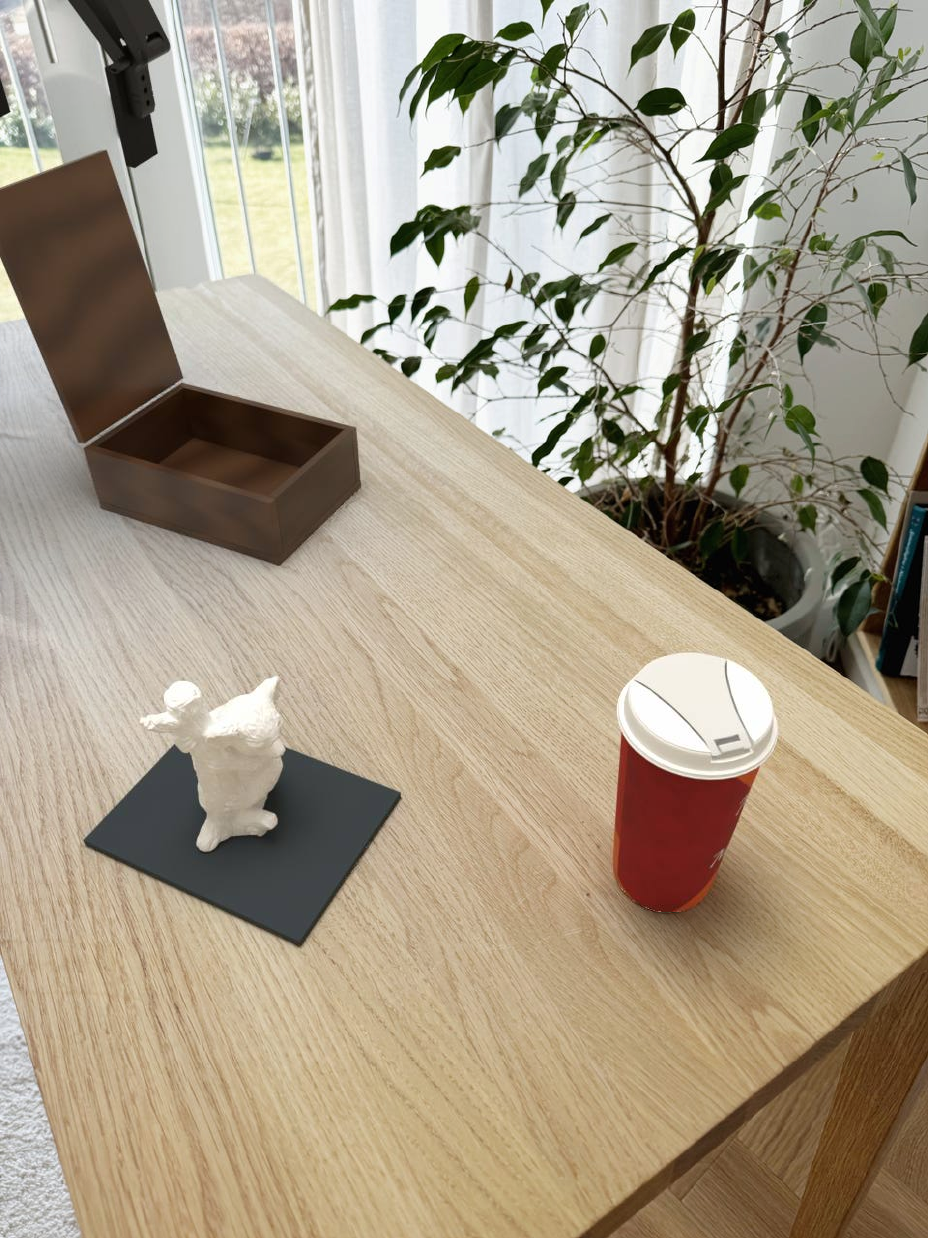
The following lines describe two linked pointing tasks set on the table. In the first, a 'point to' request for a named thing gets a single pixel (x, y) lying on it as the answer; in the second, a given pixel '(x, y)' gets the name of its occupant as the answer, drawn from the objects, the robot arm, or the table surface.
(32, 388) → the table surface
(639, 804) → the coffee cup
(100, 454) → the chest
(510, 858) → the table surface
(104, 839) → the mat
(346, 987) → the table surface
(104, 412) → the chest lid
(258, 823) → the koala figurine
